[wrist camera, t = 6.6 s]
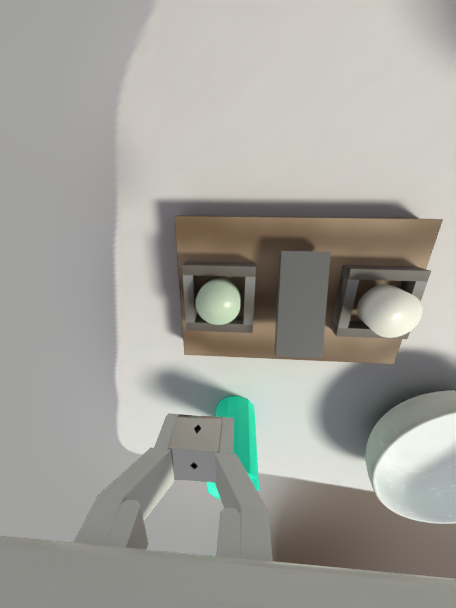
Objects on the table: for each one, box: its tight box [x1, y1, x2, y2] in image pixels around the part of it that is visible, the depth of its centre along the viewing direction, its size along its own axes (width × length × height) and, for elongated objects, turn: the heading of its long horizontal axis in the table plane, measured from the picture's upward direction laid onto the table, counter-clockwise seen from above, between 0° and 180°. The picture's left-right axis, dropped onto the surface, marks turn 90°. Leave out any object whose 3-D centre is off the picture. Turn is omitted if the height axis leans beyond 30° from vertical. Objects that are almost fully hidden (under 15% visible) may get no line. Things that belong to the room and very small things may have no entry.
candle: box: [207, 396, 259, 499], centre depth 30 cm, size 6×6×12 cm
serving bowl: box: [366, 390, 456, 523], centre depth 31 cm, size 21×21×7 cm
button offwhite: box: [357, 285, 423, 338], centre depth 21 cm, size 4×4×2 cm
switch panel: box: [174, 216, 443, 364], centre depth 25 cm, size 16×25×5 cm, turn 89°
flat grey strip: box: [274, 251, 331, 358], centre depth 22 cm, size 10×4×1 cm, turn 179°
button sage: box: [196, 277, 241, 325], centre depth 23 cm, size 4×4×2 cm
